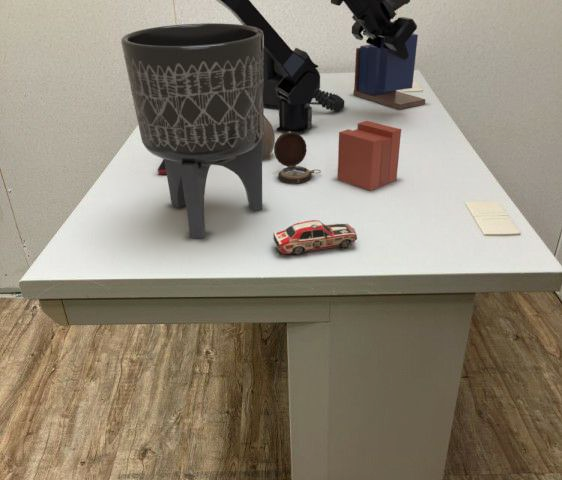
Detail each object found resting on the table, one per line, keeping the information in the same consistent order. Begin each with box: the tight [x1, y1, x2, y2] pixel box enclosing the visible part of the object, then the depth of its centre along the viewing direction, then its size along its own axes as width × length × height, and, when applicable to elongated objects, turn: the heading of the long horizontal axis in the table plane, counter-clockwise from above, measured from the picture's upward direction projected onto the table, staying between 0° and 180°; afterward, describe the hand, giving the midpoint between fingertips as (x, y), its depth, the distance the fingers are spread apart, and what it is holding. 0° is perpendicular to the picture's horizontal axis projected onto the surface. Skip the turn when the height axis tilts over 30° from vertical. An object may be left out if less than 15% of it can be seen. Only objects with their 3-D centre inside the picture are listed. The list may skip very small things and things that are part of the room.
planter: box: [120, 22, 265, 239], centre depth 91 cm, size 20×20×26 cm
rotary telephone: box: [264, 49, 345, 112], centre depth 153 cm, size 33×22×15 cm, turn 58°
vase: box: [262, 114, 276, 160], centre depth 120 cm, size 7×7×9 cm
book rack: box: [352, 47, 426, 110], centre depth 152 cm, size 8×18×11 cm, turn 32°
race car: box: [272, 219, 358, 256], centre depth 88 cm, size 5×12×5 cm, turn 99°
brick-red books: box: [337, 120, 402, 192], centre depth 108 cm, size 8×7×9 cm
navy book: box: [378, 33, 419, 92], centre depth 137 cm, size 8×3×11 cm, turn 113°
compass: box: [273, 131, 322, 184], centre depth 111 cm, size 8×8×7 cm
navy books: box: [358, 44, 397, 96], centre depth 155 cm, size 8×6×11 cm
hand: (402, 56), depth 137 cm, fingers closed on navy book, 3 cm apart
